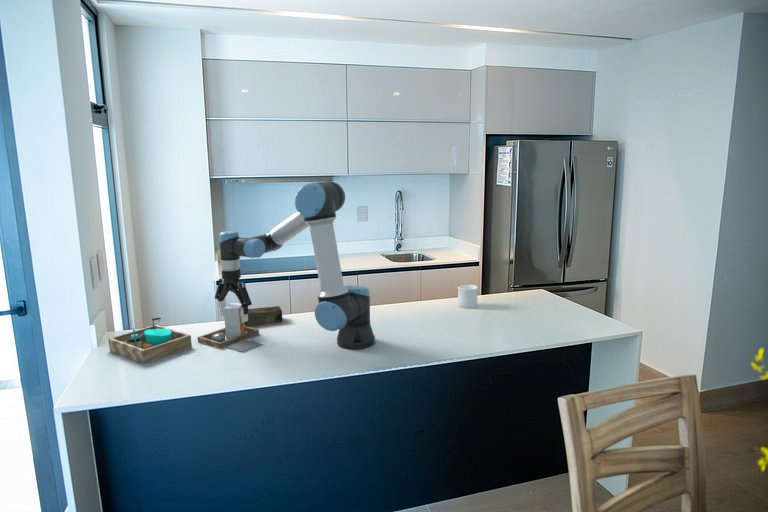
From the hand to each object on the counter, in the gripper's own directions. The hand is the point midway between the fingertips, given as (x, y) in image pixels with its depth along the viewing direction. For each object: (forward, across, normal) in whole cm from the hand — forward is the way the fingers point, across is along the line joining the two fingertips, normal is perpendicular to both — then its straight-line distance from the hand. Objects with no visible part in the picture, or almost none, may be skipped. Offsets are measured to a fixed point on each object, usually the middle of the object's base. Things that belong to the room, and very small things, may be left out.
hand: (234, 318), depth 219 cm
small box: (+8, 0, 0) cm, 8 cm away
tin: (+8, 0, +8) cm, 11 cm away
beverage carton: (+8, +4, -18) cm, 20 cm away
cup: (+7, -63, -91) cm, 111 cm away
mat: (+7, -13, +6) cm, 17 cm away
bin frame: (+7, 0, +3) cm, 8 cm away
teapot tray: (+8, +16, +28) cm, 33 cm away
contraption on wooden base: (+8, +16, +28) cm, 33 cm away
